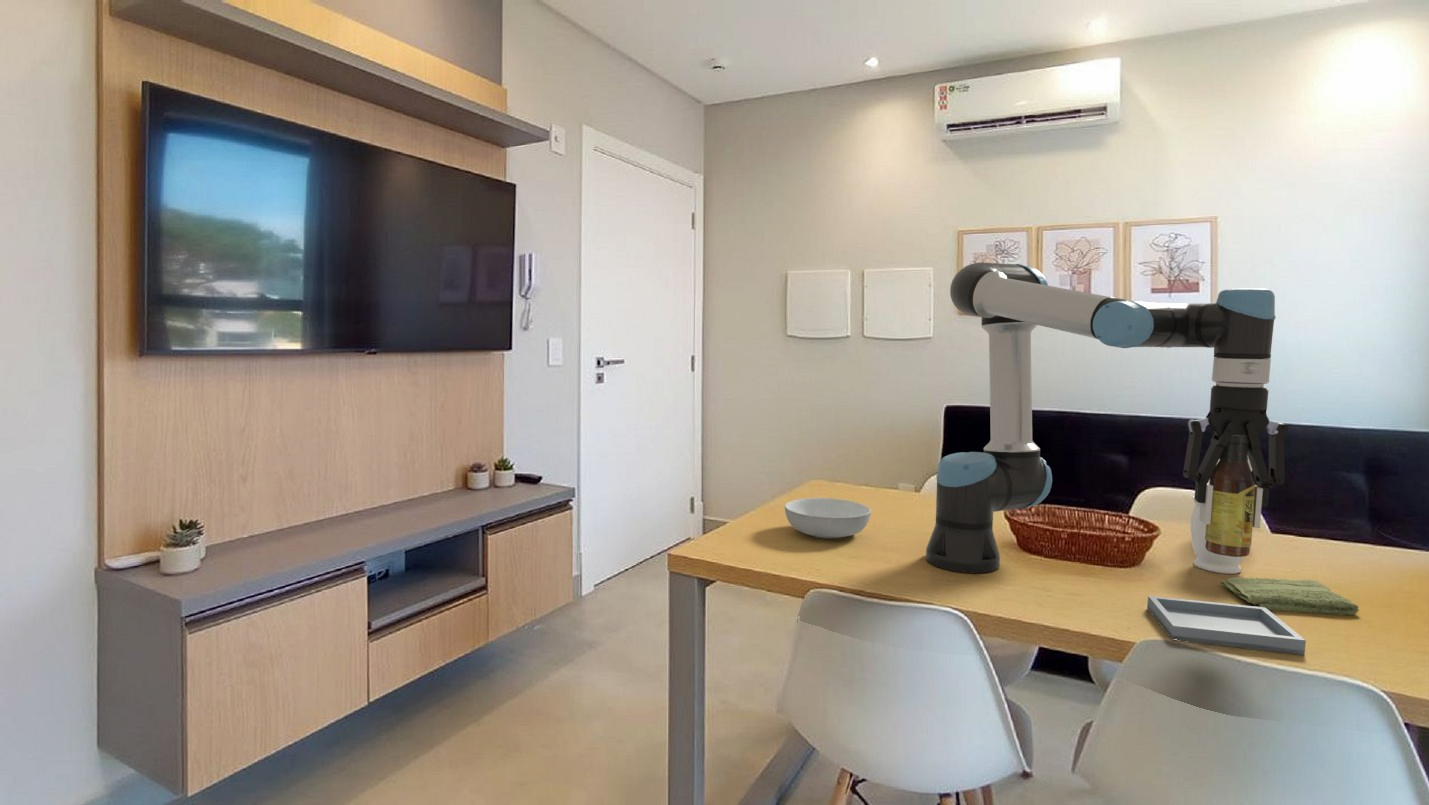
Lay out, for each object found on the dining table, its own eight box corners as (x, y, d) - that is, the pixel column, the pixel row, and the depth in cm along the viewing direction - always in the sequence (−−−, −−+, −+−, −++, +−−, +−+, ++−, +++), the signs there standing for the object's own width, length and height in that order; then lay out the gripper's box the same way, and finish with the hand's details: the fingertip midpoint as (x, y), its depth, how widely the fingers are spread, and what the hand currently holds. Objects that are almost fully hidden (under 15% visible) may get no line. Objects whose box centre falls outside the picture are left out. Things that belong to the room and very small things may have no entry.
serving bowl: (878, 547, 166) (879, 517, 165) (788, 545, 166) (788, 516, 165) (861, 523, 186) (862, 497, 186) (781, 522, 187) (781, 496, 186)
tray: (1172, 640, 116) (1173, 625, 116) (1147, 608, 129) (1148, 595, 129) (1304, 655, 111) (1305, 640, 111) (1264, 620, 124) (1265, 607, 124)
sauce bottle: (1252, 561, 114) (1262, 438, 112) (1205, 554, 118) (1213, 435, 116) (1248, 551, 120) (1257, 433, 118) (1203, 544, 123) (1211, 430, 121)
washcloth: (1216, 587, 142) (1217, 571, 142) (1318, 594, 139) (1319, 578, 138) (1250, 612, 130) (1252, 594, 129) (1364, 620, 126) (1365, 603, 126)
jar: (1257, 578, 146) (1263, 506, 145) (1201, 574, 148) (1206, 503, 147) (1231, 562, 157) (1236, 494, 155) (1179, 558, 159) (1183, 492, 157)
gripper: (1179, 384, 115) (1170, 524, 117) (1322, 388, 110) (1309, 535, 112) (1165, 381, 122) (1156, 514, 125) (1298, 385, 117) (1286, 523, 119)
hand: (1228, 523), depth 118 cm, fingers closed on sauce bottle, 6 cm apart
